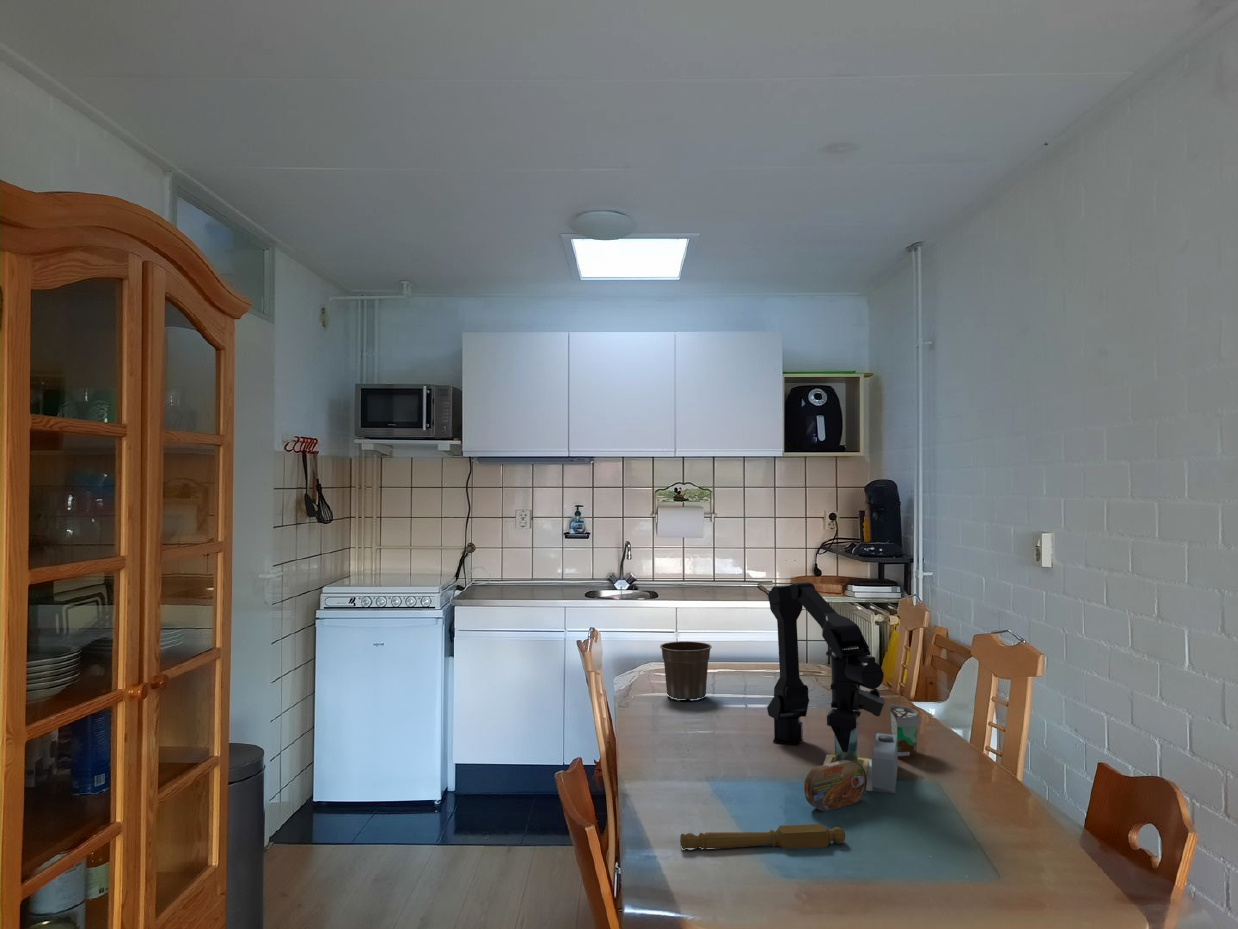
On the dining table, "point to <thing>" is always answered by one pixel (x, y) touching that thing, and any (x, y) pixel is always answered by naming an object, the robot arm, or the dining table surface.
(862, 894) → the dining table surface
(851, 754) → the spout can
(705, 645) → the plant pot
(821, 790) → the tin
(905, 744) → the food container
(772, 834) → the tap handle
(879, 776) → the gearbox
